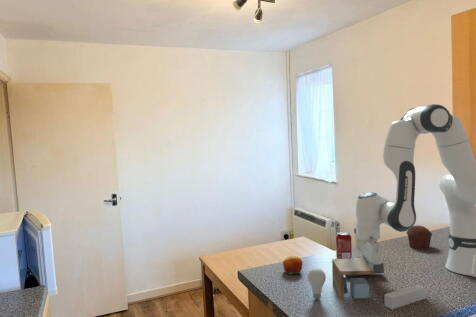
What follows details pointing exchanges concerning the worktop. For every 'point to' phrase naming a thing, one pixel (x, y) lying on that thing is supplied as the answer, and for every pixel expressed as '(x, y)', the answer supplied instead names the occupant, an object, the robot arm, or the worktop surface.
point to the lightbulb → (316, 281)
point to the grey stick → (405, 296)
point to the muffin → (419, 237)
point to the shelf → (347, 272)
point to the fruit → (292, 265)
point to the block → (359, 288)
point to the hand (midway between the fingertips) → (368, 267)
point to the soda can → (343, 245)
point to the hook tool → (378, 269)
